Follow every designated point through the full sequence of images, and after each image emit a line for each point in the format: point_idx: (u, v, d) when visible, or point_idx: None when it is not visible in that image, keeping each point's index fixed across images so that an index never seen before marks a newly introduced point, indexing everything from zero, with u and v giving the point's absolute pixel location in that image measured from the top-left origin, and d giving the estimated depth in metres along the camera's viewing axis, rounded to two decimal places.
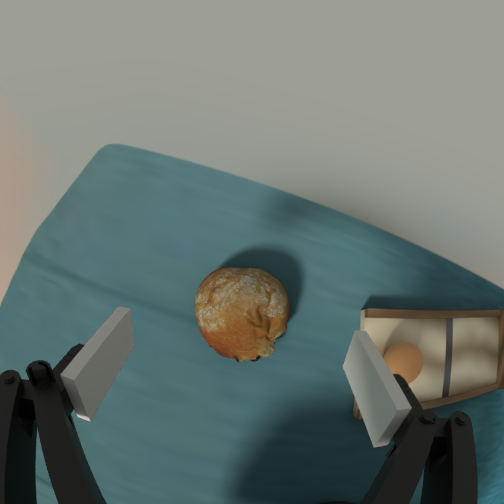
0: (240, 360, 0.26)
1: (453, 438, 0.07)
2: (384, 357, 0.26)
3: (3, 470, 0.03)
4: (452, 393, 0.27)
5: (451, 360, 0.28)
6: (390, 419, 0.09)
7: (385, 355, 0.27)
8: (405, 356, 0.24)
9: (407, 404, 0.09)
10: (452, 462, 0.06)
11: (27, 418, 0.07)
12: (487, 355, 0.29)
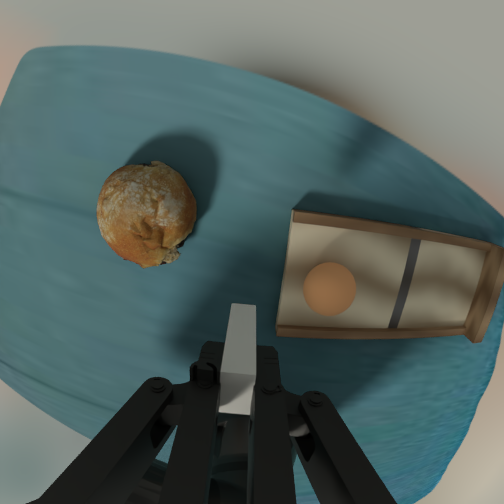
0: (143, 267, 0.26)
1: (314, 424, 0.08)
2: (306, 277, 0.25)
3: (101, 478, 0.05)
4: (402, 326, 0.29)
5: (408, 289, 0.28)
6: (236, 383, 0.11)
7: (308, 275, 0.25)
8: (327, 288, 0.23)
9: (253, 371, 0.11)
10: (326, 451, 0.07)
11: (172, 424, 0.10)
12: (459, 293, 0.28)
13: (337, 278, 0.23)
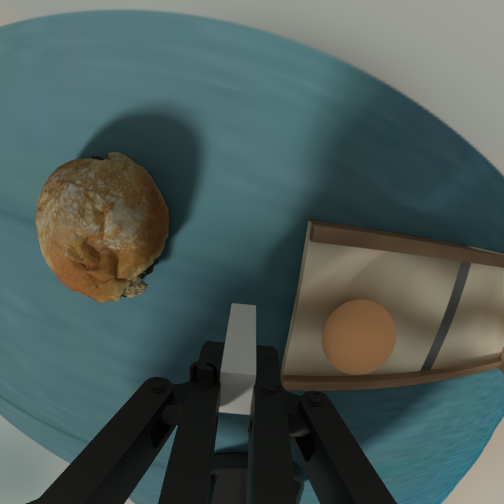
0: (99, 301, 0.17)
1: (314, 424, 0.08)
2: (328, 322, 0.17)
3: (102, 479, 0.05)
4: (437, 366, 0.21)
5: (450, 324, 0.20)
6: (236, 383, 0.11)
7: (330, 320, 0.17)
8: (359, 343, 0.14)
9: (253, 371, 0.11)
10: (326, 451, 0.07)
11: (172, 425, 0.10)
12: (500, 322, 0.20)
13: (375, 328, 0.15)
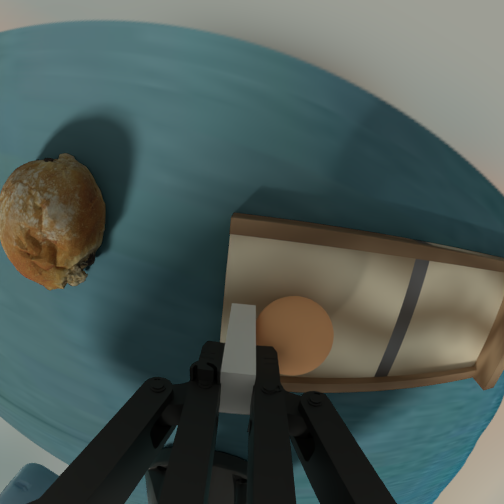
0: (48, 289, 0.17)
1: (314, 424, 0.08)
2: (257, 321, 0.16)
3: (102, 478, 0.05)
4: (395, 373, 0.21)
5: (407, 328, 0.20)
6: (236, 383, 0.11)
7: (259, 319, 0.16)
8: (291, 343, 0.14)
9: (252, 370, 0.11)
10: (326, 451, 0.07)
11: (172, 425, 0.10)
12: (473, 328, 0.20)
13: (307, 326, 0.15)
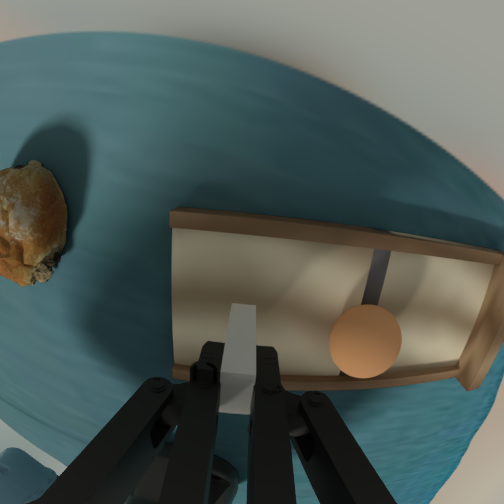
0: (21, 285, 0.17)
1: (314, 424, 0.08)
2: None
3: (102, 479, 0.05)
4: None
5: None
6: (236, 383, 0.11)
7: None
8: None
9: (253, 370, 0.11)
10: (326, 451, 0.07)
11: (172, 425, 0.10)
12: (452, 324, 0.20)
13: None
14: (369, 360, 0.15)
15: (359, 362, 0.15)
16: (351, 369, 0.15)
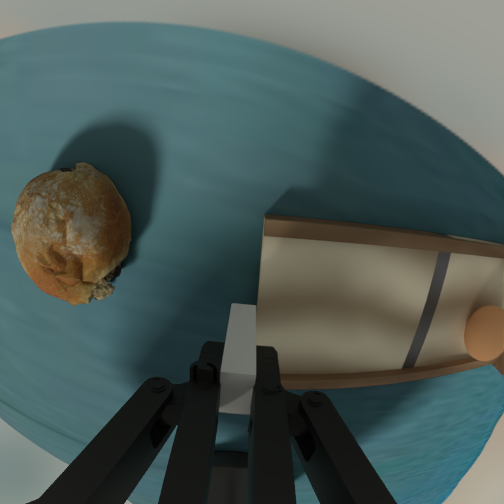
0: (72, 304, 0.17)
1: (314, 424, 0.08)
2: (477, 326, 0.17)
3: (102, 479, 0.05)
4: (421, 364, 0.21)
5: (431, 319, 0.19)
6: (236, 383, 0.11)
7: (478, 323, 0.17)
8: (503, 333, 0.15)
9: (253, 370, 0.11)
10: (326, 451, 0.07)
11: (172, 424, 0.10)
12: None
13: None
14: None
15: None
16: None
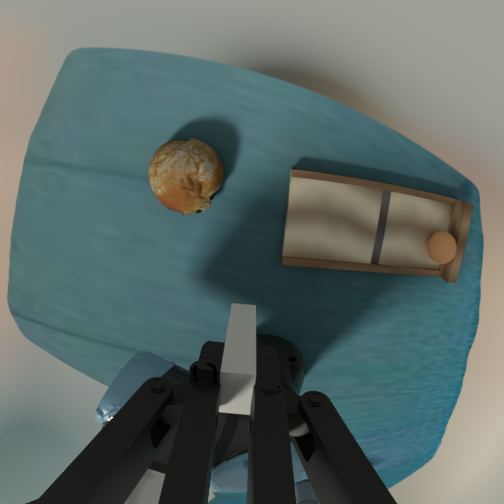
0: (184, 214, 0.36)
1: (314, 424, 0.08)
2: (452, 247, 0.33)
3: (101, 478, 0.05)
4: (383, 263, 0.39)
5: (384, 231, 0.38)
6: (236, 383, 0.11)
7: (452, 245, 0.33)
8: None
9: (253, 371, 0.11)
10: (326, 451, 0.07)
11: (172, 425, 0.10)
12: None
13: None
14: (428, 242, 0.37)
15: None
16: (427, 248, 0.37)
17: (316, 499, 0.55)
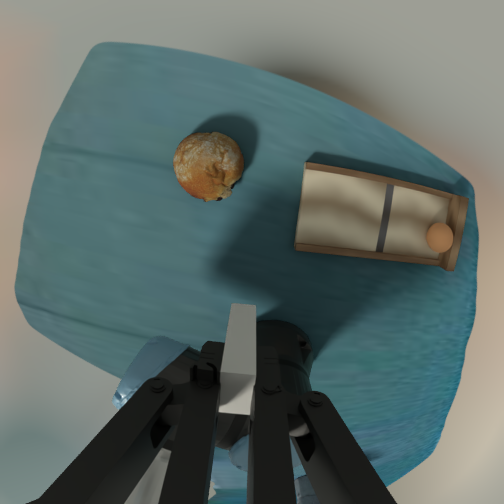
0: (206, 200, 0.39)
1: (314, 424, 0.08)
2: (448, 236, 0.36)
3: (101, 478, 0.05)
4: (387, 251, 0.42)
5: (388, 222, 0.41)
6: (236, 383, 0.11)
7: (448, 235, 0.36)
8: None
9: (253, 371, 0.11)
10: (326, 451, 0.07)
11: (172, 424, 0.10)
12: None
13: None
14: (427, 232, 0.40)
15: None
16: (427, 238, 0.41)
17: None
